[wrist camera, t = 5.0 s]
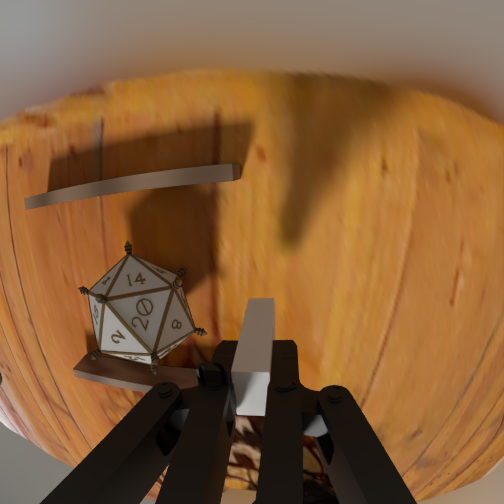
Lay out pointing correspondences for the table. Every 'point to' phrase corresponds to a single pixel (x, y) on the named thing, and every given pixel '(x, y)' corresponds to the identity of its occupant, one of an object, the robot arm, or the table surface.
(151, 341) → the game die
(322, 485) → the black rounded lump
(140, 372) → the walnut channel
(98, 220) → the table surface
